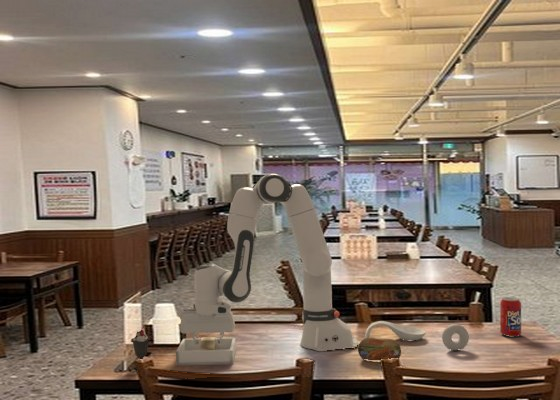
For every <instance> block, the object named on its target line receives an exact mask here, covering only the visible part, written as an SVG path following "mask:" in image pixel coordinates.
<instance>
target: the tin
mask: <svg viewBox="0 0 560 400" xmlns="http://www.w3.org/2000/svg"><path fill="white" fill-rule="evenodd" d="M357 352H358V355H359V357H360V358H361V359H362V360H363V361H365V360H364V359H368V360H381V359H388V358H389V359H391V358H398V360H400V357H401V355H402V348H401V346H400V343H399V342H398V341H396V340H394V339H392V338H382V337H381V338H379V337H369V338H364V339H362V340H360V342H359V343H358V347H357Z"/></svg>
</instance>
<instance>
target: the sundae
mask: <svg viewBox="0 0 560 400" xmlns="http://www.w3.org/2000/svg"><path fill="white" fill-rule="evenodd" d="M144 328H145V326H142V327H141V329H140V331H136V335H135V336H134V337H133V338H131V339H130V343H132V344H133V349H134V354H135V356H136V357H137V358H138V359H139V360H140V359H143V360H144V358H145V357H146V355H147V354H148V347H149V341H151V338H150V337H148V335H147V334H146V332H145V330H144Z"/></svg>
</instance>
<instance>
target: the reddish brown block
mask: <svg viewBox="0 0 560 400" xmlns="http://www.w3.org/2000/svg"><path fill="white" fill-rule="evenodd" d="M185 334H186V337H185V339H193V338H192V336H191V333H185ZM195 337H196V338H200V333H196V334H195Z"/></svg>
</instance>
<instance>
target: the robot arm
mask: <svg viewBox="0 0 560 400" xmlns="http://www.w3.org/2000/svg"><path fill="white" fill-rule="evenodd" d="M308 192H309V191H308V190H307V189H306V187H305V186H304V185H303V184H300V183H299V184H298V183H295V184H291V183H290V182H289V181H287V180H286V179H285V178H284V176H281V175H280V174H278V173H268V174H265V175H263V176H262V177H260V179H258V181H257V182H256V183H255V184H254V185H253V186H252V187H248V186H245V187H244V186H243V187H241V188H239V189H237V190H236V192H235V194H234V197H232V198H233V199H232V202H231V203H230V208H229V211H228V217H227V224H226V228H227V230H226V231H227V233H228V235H229V236H230V238H231V239H232V241H233V243H234V248H235V249H234V258H233V262H232V269H231V270H229V269H226V268H223V267H221V266H219V265H217V264H216V263H213V262H209V263H203V264H200V265H199V266H197V267H196V268H195V271H194V281H193V282H194V283H193V286H194V291H195V297H194V307H184V308H181V309H180V311H179V319H180V324H179V325H180V326H179V327H180V328H179V332H181V333H182V334H186V333H191V336H192V338H193V340H194V344H195V345H199V339H197V338H196V337H195V334H196V333H199V334H206V333H208V334H210V333H211V334H212V333H213V334H214V333H219V335H220V337H217V338H218V339H217V344H221V343H222V338H224V335H225V333H233V332H234V331H235V327H236V325H235V317H234V313H233V311H231V310H232V306H231V304H230V303H227V302H222V301H219V299H220V296H221V297H222V296H223V297H225V298H226V299H227V300H228V301H230V302H232V303H241V302H244V301H245V300H246V299H248V297H249V296H250V294H251V291H252V281H251V277H250V273H251V266H252V265H251V264H252V260H253V259H252V257H253V251H254V241H255V240H254V239H255V232H256V227H257V222H258V217H259V212H260V209H261V208H262V206H263V205H266V204H276V203H280V204H281V205H282V206H283V208H284V209H285V214H286V216H287V219H288V223H289V226H290V228H291V232H292V235H293V237H294V240H295V245H296V247H297V251H298V253H299V257H300V260H301V263H302V287H303V291H302V292H303V295H302V297H303V308H302V312H301V313H302V316H301V318H302V323H303V327H302V334H301V340H300V342H299V345H300V346H301V347H303V348H305V349H309V350H314V351H316V352H328V351H327V350H332V351H336V350H335V349H343V348H352V347H356V346H357V345H358V346H359V340H358V339H357V338H355V337H354V336H353V334H352V333H353V332H352V329H351V327H350V326H349V325H348V324H347V323H345V322H344V321H343V320H341V319H340V318H339V317H340V311H338V310H337V309H336V308H334V307H333V299H332V298H333V296H332V295H333V291H332V290H333V289H332V264H333V263H332V261H333V260H332V256H331V252H330V250H329V247H328V245H327V240H326V239H325V235H324V233H323V229H322V227H321V226H322V225H321V223H320V220H319V218H318V214H317V211H316V208H315V206H314V203H313V200H312V198H311V196H310V194H309V193H308ZM343 350H344V349H343Z"/></svg>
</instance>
